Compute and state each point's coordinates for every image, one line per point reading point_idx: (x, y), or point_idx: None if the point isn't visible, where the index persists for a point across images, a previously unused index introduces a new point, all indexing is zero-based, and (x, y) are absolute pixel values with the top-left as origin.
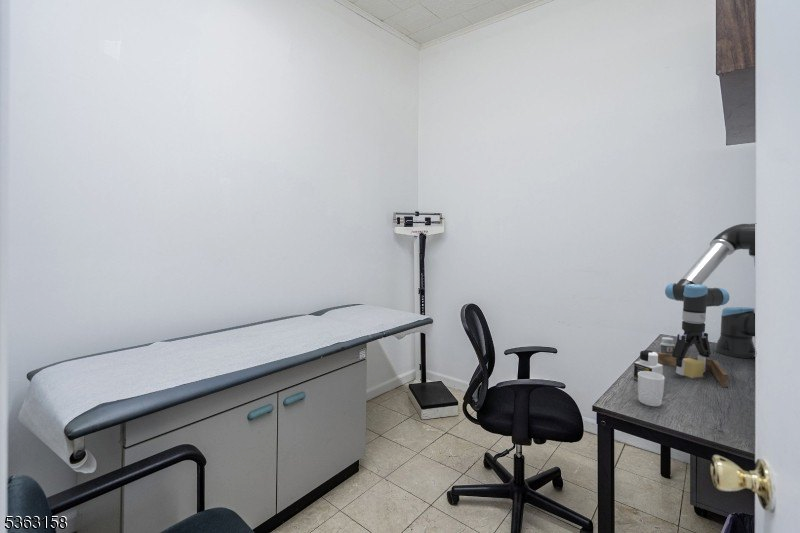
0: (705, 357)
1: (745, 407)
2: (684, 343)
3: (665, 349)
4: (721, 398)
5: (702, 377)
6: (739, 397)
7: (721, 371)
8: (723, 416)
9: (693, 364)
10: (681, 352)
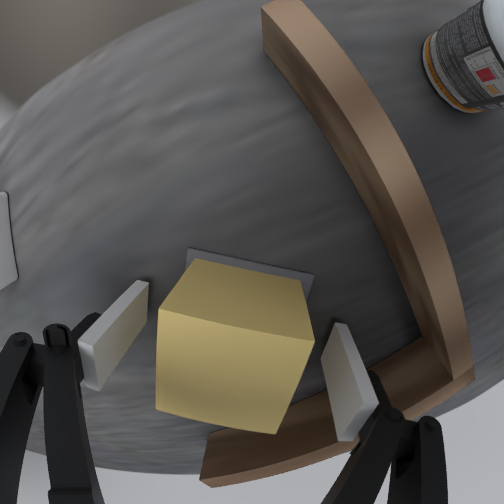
0: (348, 440)
1: (112, 466)
2: (16, 501)
3: (468, 44)
4: (101, 437)
5: None
6: (163, 463)
7: (239, 474)
8: (32, 433)
9: (166, 407)
10: (30, 421)
